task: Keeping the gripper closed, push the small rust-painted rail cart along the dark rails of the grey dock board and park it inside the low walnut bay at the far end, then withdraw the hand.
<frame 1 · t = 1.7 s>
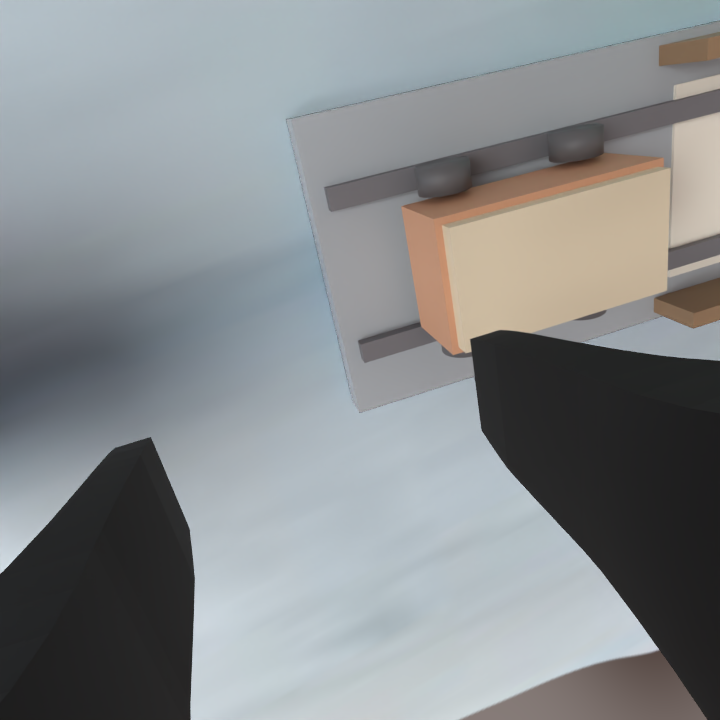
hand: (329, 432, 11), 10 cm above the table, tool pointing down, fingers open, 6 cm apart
cart: (533, 249, 18), point 3 cm above the table, slide at 0.0 cm
dock: (599, 199, 21), on the table
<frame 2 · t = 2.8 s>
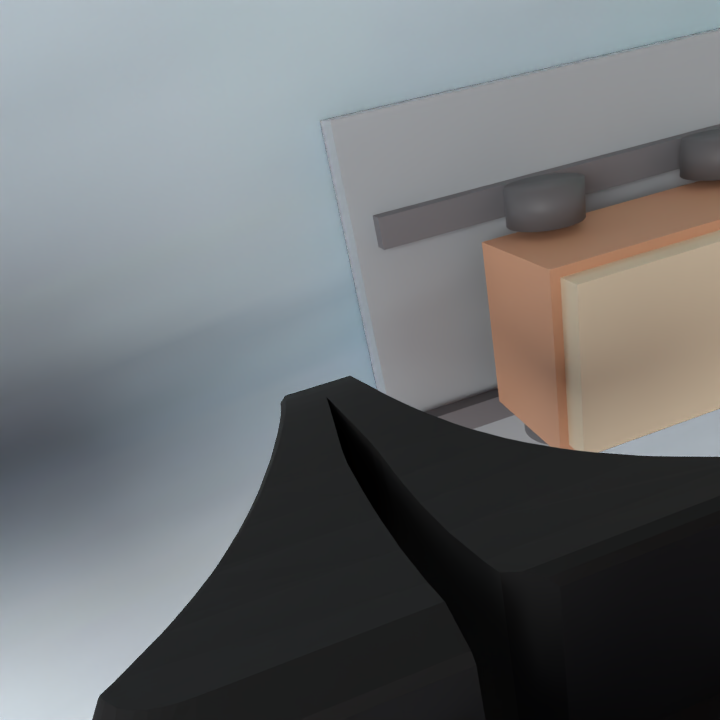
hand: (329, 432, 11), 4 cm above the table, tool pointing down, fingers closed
cart: (664, 301, 13), point 3 cm above the table, slide at 0.0 cm
dock: (719, 224, 16), on the table
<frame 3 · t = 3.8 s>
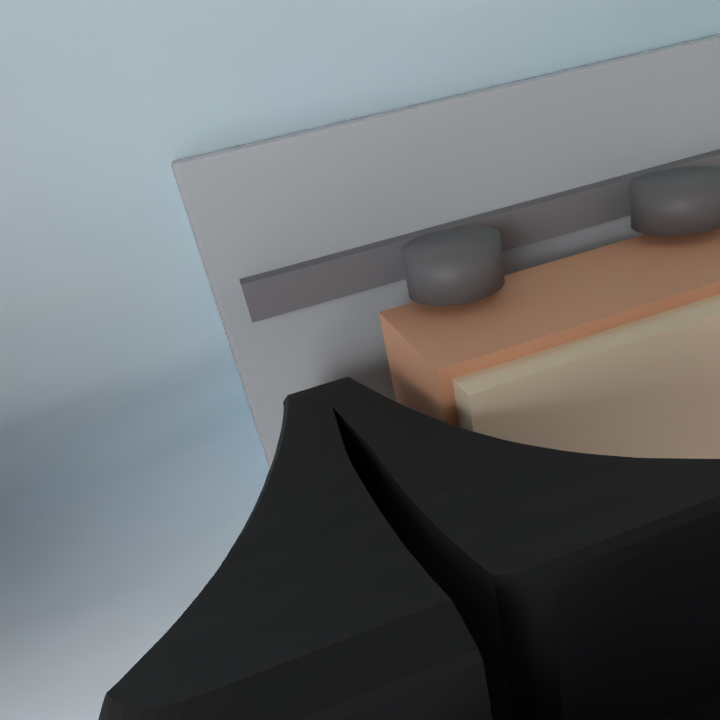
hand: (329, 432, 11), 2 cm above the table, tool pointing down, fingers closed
cart: (608, 384, 10), point 3 cm above the table, slide at 0.1 cm, touching gripper
dock: (685, 272, 14), on the table
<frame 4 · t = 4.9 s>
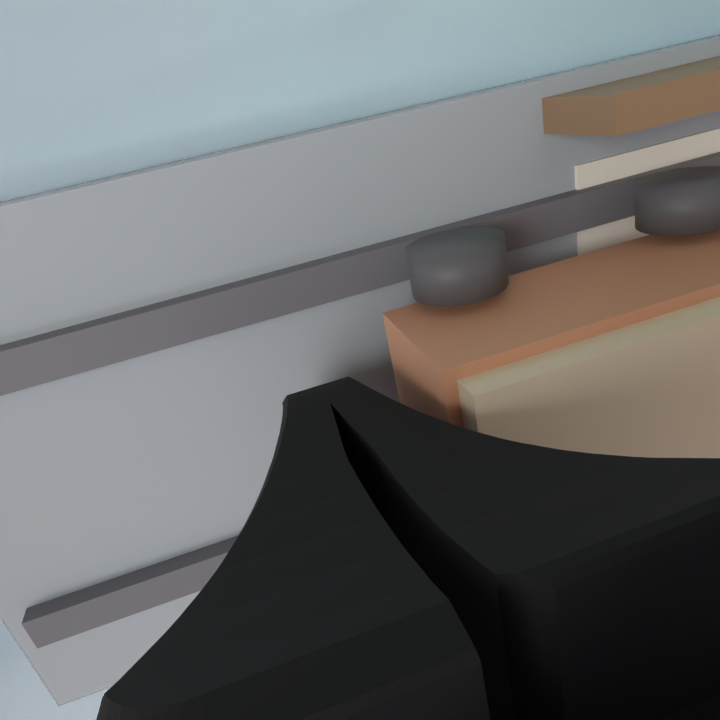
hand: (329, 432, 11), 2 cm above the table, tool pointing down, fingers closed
cart: (613, 385, 10), point 3 cm above the table, slide at 5.9 cm, touching gripper
dock: (466, 341, 13), on the table
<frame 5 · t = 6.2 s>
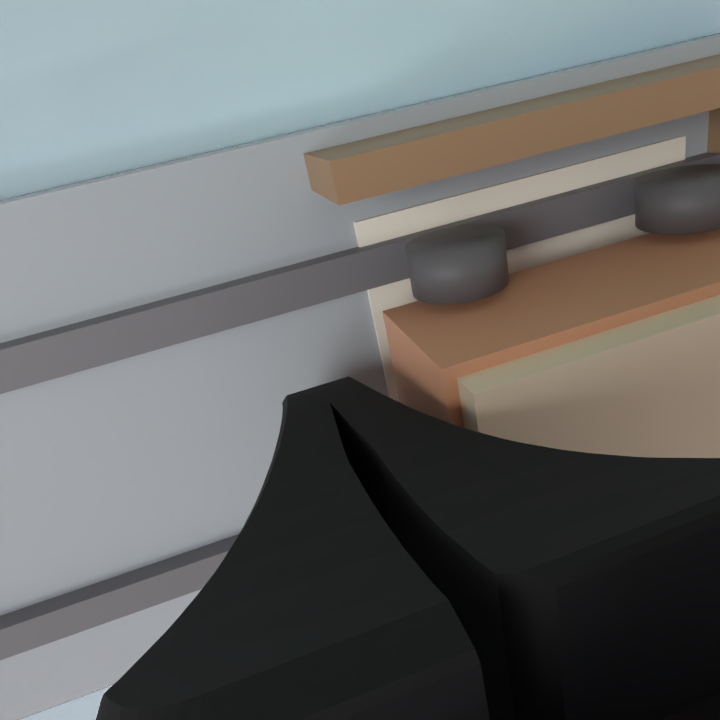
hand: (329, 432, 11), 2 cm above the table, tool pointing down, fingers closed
cart: (613, 384, 10), point 3 cm above the table, slide at 10.4 cm, touching gripper
dock: (275, 399, 12), on the table
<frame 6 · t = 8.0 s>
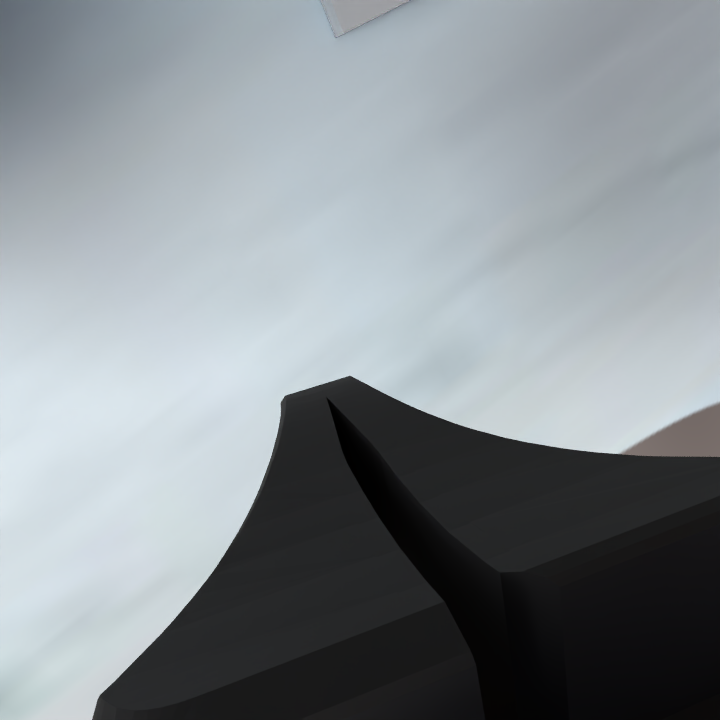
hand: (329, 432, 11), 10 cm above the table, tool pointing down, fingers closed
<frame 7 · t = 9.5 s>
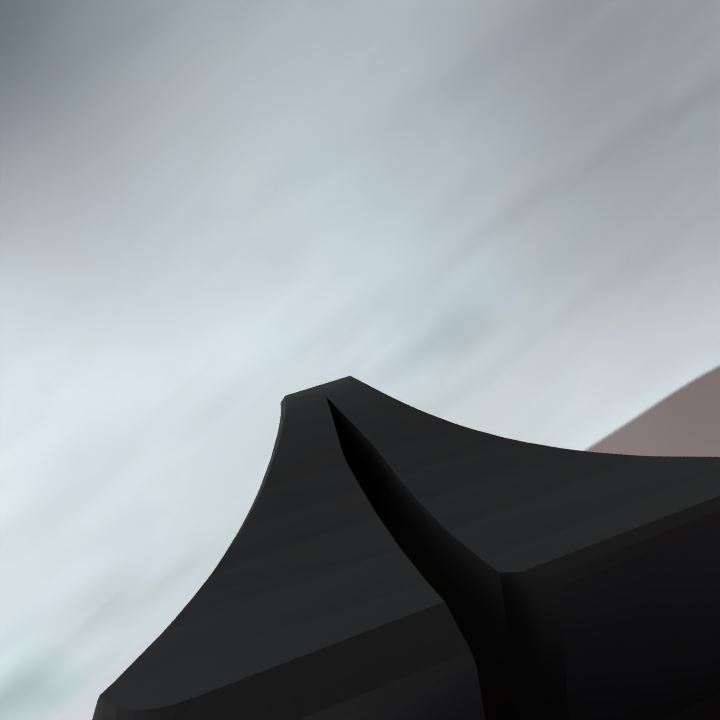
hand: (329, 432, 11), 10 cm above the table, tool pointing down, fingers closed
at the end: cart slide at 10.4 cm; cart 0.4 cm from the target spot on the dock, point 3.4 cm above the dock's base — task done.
